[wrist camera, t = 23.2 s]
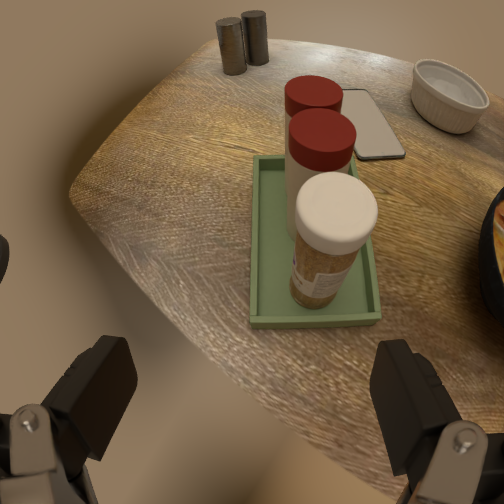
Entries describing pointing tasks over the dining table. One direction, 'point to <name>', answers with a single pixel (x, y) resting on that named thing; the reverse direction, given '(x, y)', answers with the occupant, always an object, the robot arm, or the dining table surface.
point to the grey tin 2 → (255, 37)
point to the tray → (281, 258)
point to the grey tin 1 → (231, 45)
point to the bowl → (493, 258)
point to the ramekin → (447, 96)
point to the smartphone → (370, 127)
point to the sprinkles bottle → (329, 235)
